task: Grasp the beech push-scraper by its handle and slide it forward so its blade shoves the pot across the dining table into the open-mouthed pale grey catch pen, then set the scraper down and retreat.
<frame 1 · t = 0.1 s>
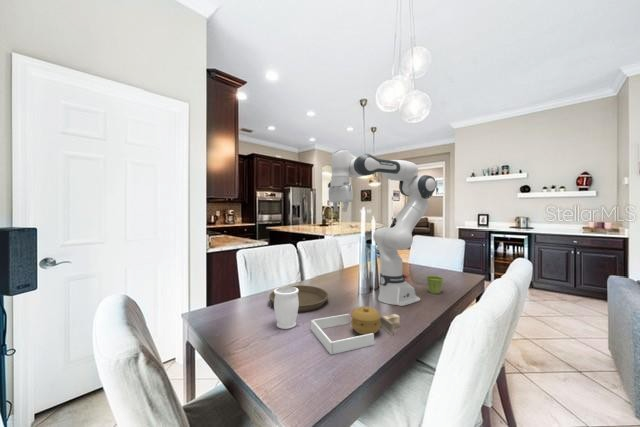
hand: (340, 211, 129), 48 cm above the table, fingers open, 8 cm apart
pot: (365, 332, 105), on the table
plant saucer: (299, 302, 139), on the table
plant pot: (434, 292, 154), on the table
jar: (286, 325, 112), on the table
scraper: (390, 326, 110), on the table
catch pen: (341, 336, 101), on the table
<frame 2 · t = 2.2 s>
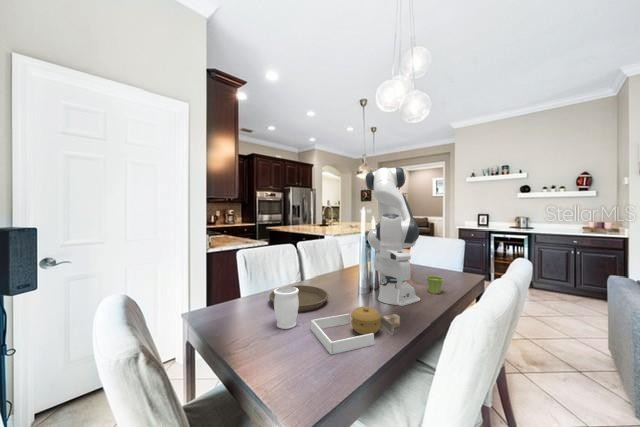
hand: (390, 285, 109), 17 cm above the table, fingers open, 8 cm apart
nothing on the table moved.
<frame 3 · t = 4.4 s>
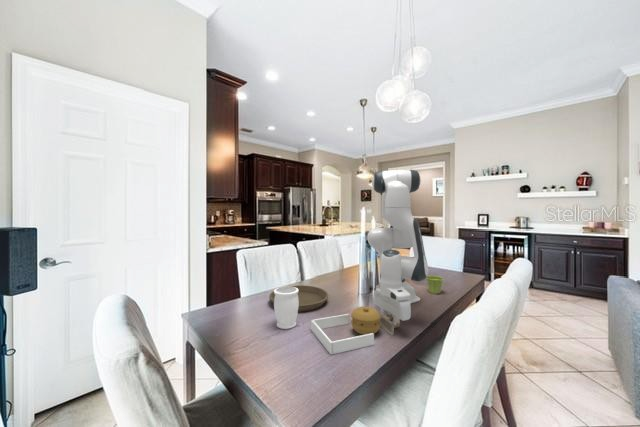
hand: (390, 322, 110), 2 cm above the table, fingers closed on scraper, 3 cm apart
scraper: (390, 326, 110), on the table, touching gripper
everything else where it was.
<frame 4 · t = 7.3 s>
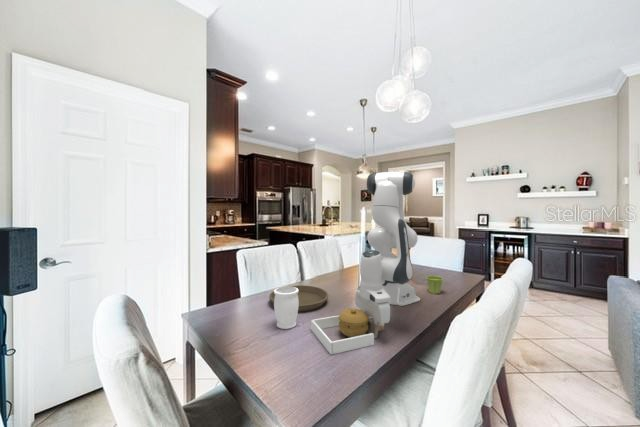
hand: (371, 325, 106), 2 cm above the table, fingers closed on scraper, 3 cm apart
pot: (353, 334, 103), on the table, touching scraper
scraper: (374, 329, 107), on the table, touching pot, gripper
everything else where it was.
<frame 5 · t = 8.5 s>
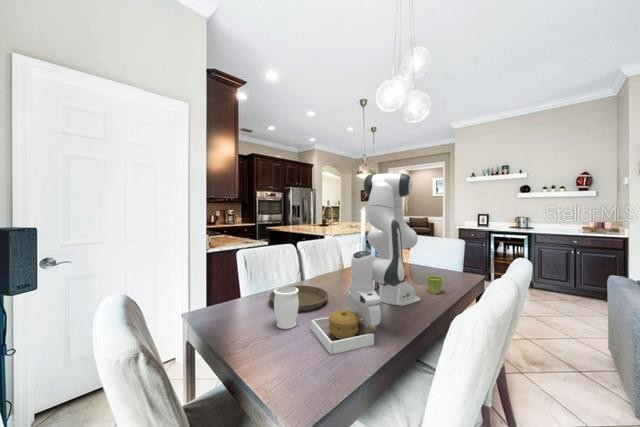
hand: (361, 327, 105), 2 cm above the table, fingers closed on scraper, 3 cm apart
pot: (343, 336, 102), on the table, touching scraper
scraper: (366, 331, 105), on the table, touching pot, gripper
everything else where it was.
when the fingers open (2 cm above the table, at t = 10.4 s): scraper stays where it is, on the table.
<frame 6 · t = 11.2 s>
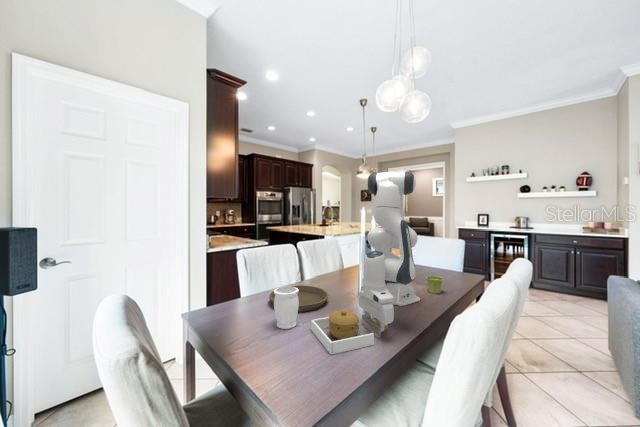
hand: (374, 325, 107), 2 cm above the table, fingers open, 8 cm apart
pot: (343, 336, 102), on the table
scraper: (378, 329, 107), on the table
everything else where it was.
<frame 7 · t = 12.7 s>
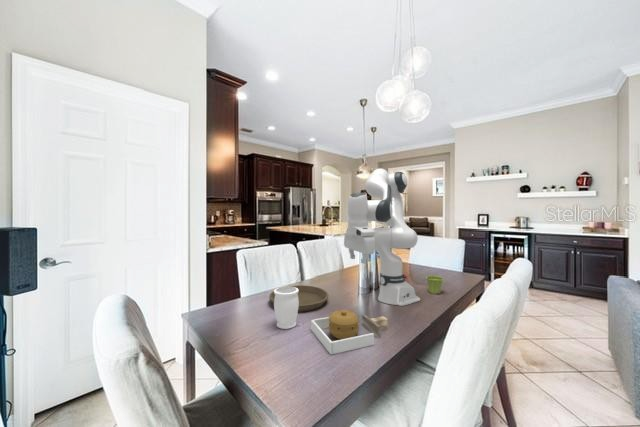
hand: (358, 260, 116), 26 cm above the table, fingers open, 8 cm apart
nothing on the table moved.
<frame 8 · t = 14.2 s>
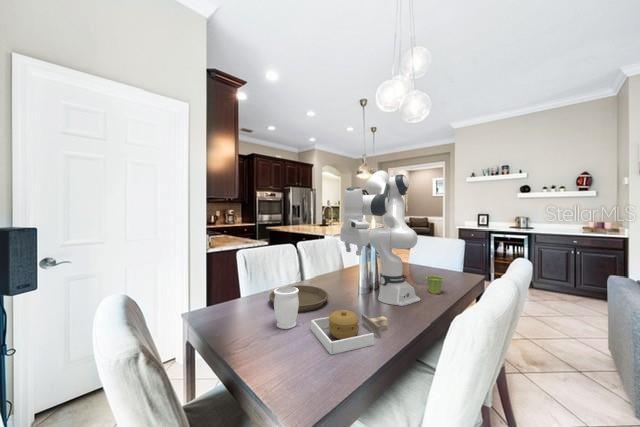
hand: (353, 253, 118), 29 cm above the table, fingers open, 8 cm apart
nothing on the table moved.
at the end: pot inside the target area on the catch pen (2.0 cm from its centre), point 0.0 cm above the catch pen's base; pot moved 9.8 cm from its start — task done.
